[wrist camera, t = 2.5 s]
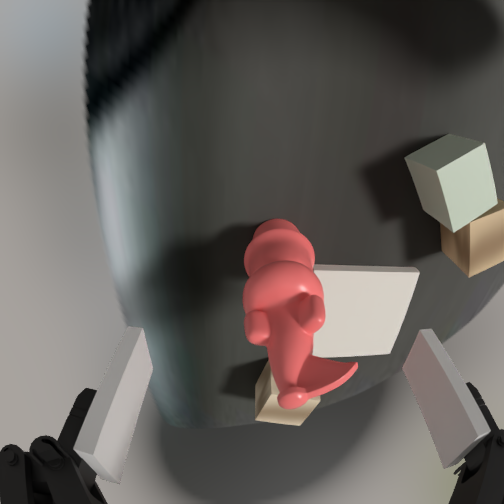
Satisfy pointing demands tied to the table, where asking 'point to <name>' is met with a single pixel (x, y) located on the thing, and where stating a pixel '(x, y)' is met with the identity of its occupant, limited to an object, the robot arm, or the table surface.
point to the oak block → (477, 241)
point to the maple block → (269, 406)
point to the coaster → (362, 308)
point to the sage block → (453, 180)
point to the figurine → (288, 313)
